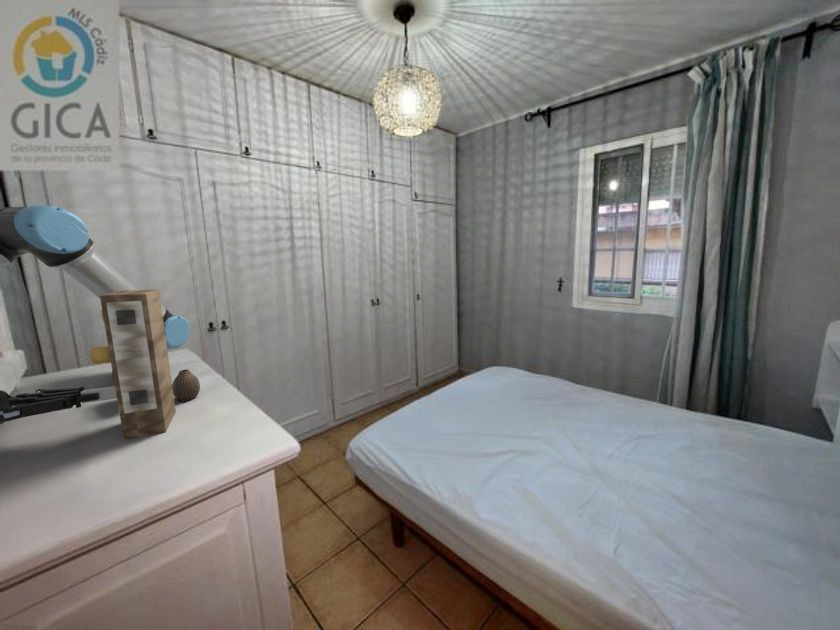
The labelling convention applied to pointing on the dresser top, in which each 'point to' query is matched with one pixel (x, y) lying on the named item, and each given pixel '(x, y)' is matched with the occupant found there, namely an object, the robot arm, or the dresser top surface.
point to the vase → (185, 386)
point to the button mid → (100, 355)
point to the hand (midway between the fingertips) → (118, 392)
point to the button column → (139, 361)
